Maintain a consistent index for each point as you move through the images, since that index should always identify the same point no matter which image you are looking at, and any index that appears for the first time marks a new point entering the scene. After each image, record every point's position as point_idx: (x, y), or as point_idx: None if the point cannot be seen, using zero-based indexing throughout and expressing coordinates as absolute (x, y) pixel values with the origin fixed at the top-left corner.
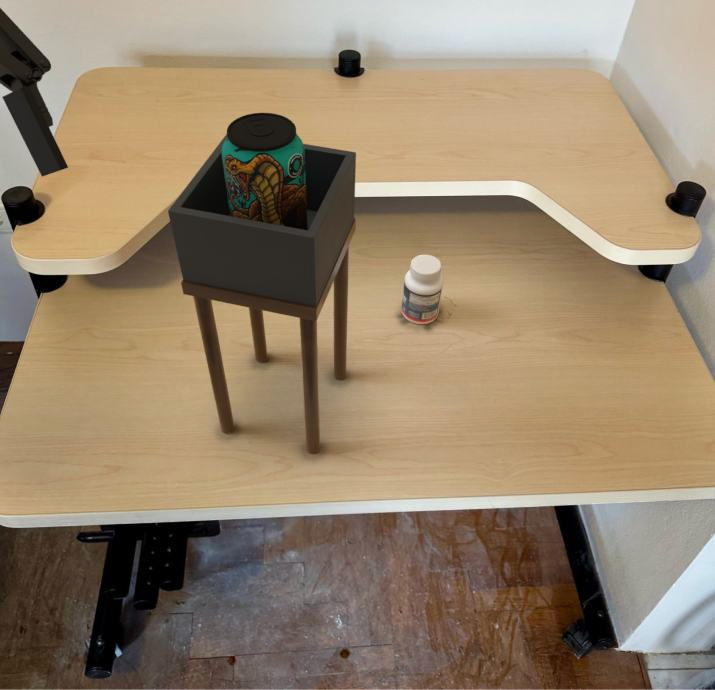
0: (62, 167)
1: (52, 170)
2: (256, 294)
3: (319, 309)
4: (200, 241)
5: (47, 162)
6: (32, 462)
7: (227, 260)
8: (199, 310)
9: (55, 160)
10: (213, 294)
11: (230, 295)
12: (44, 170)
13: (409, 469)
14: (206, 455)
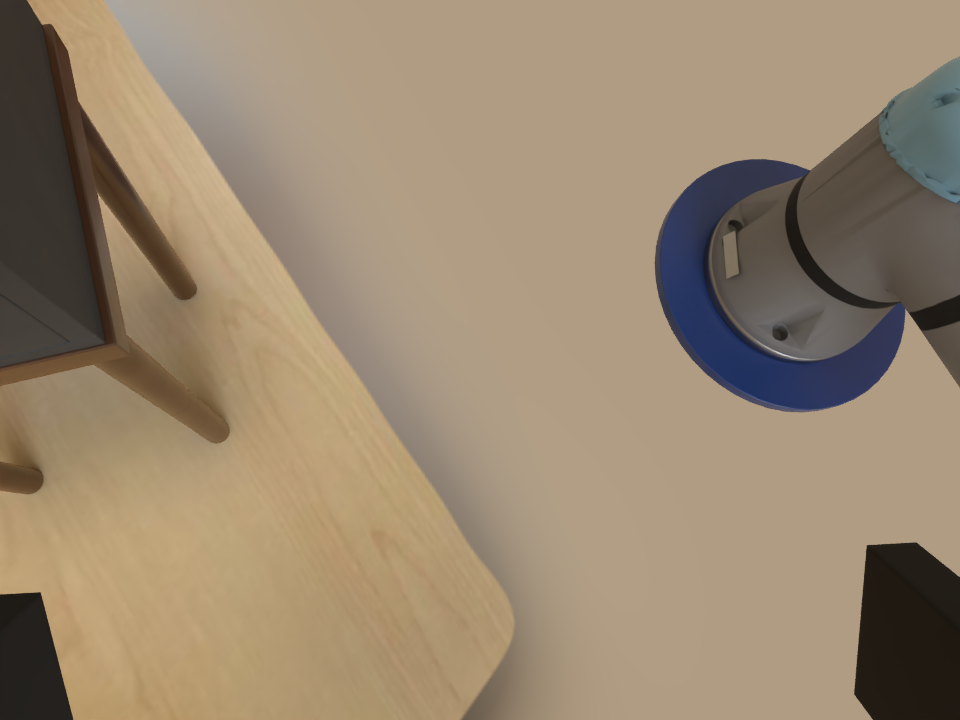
0: (18, 600)
1: (46, 659)
2: (67, 156)
3: None
4: (20, 203)
5: (19, 697)
6: (443, 670)
7: (33, 161)
8: (133, 346)
9: (6, 630)
10: (106, 268)
11: (94, 221)
12: (54, 716)
13: (150, 150)
14: (283, 428)
